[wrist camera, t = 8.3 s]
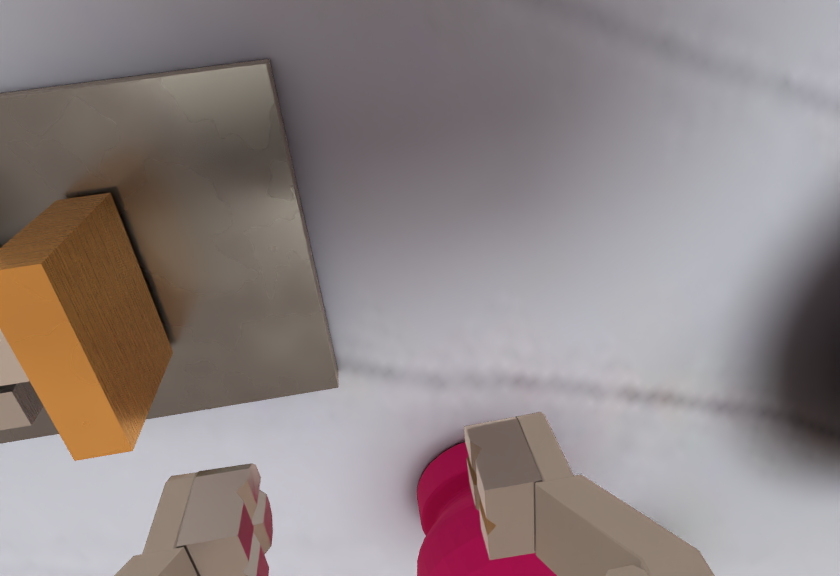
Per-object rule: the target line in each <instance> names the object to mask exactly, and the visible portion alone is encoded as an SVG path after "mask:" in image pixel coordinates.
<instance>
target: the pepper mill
mask: <svg viewBox="0 0 840 576" xmlns="http://www.w3.org/2000/svg"><path fill="white" fill-rule="evenodd" d="M468 456H469V454H468V451H467V447H466V443H465V442H463V443H460V444H457V445H455V446H454V447H452V448H450V449H448V450H446V451H445V452H443V453H442V454H440V455H439V456H438V457H437V458H436V459H435V460H434V461H432V462H431V463H430V464H429V465H428V467H427V468H426V470H425V471H424V473H423V475H422V476H421V478H420V481H419V484H418V489H417V500H418V506H419V512H420V519H421V525H422V528H423V531H424V533H425V535H426V537H425V539H424V541H423V544H422V546H421V549H420V552H419V556H418V560H417V576H557V575H556V574H555V573H554V572H553V571H552V570H551V569H550V568H549V567H547V566H546V565H545V564H544V563H543V562H542V561H541V560H540V559H539V558H538V557H537V556H536V553H531V554H525V555H519V556H513V557H506V558H500V559H494V560H489V556H488V552H487V549H486V545H485V541H484V538H483V534H482V530H481V523H480V512H479V510H477V509H476V508H475V504H474V500H473V495H472V491H471V487H470V481H469V474H468V466H467V457H468Z"/></svg>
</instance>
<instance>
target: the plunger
mask: <svg viewBox="0 0 840 576" xmlns="http://www.w3.org/2000/svg"><path fill="white" fill-rule="evenodd" d="M172 354H173V350H172V348H171V345H170V343H169V340H168V338H167V335H166V333H165V330H164V328H163V325H162V322H161V320H160V317H159V315H158V312H157V310H156V307H155V305H154V302H153V300H152V297H151V294H150V292H149V289H148V287H147V284H146V282H145V279H144V277H143V274H142V272H141V269H140V266H139V264H138V261H137V259H136V256H135V254H134V251H133V249H132V246H131V244H130V241H129V238H128V236H127V233H126V231H125V228H124V226H123V223H122V221H121V218H120V216H119V213H118V210H117V208H116V205H115V203H114V200H113V198H112V195H111V193H104V194H97V195H90V196H83V197H76V198H69V199H61V200H56V201H55V202H54V203H52V204H51V205H50V206H49V207H48V208H47V209H45V210H44V211H43V212H42V213H41V214H40V215H38V216H37V217H36V218H35V219H34V220H33V221H31V222H30V223H29V224H28V225H27V226H26V227H24V228H23V229H22V230H21V231H20V232H18V233H17V234H16V235H15V236H14V237H13V238H11V239H10V240H9V241H8V242H7V243H6V244H4V245H3V246H2V247H1V248H0V386H4V385H10V384H16V383H22V382H29V381H30V383H31V384H32V386H33V388H34V390H35V391H36V393H37V395H38V397H39V399H40V400H41V402H42V404H43V406H44V407H45V409H46V411H47V413H48V414H49V416H50V418H51V420H52V422H53V423H54V425H55V427H56V429H57V430H58V432H59V434H60V436H61V438H62V439H63V441H64V443H65V445H66V446H67V448H68V450H69V452H70V453H71V455H72V457H73V459H74V461H76V460H82V459H88V458H94V457H100V456H106V455H112V454H117V453H123V452H129V451H133V449H134V446H135V444H136V441H137V439H138V436H139V434H140V432H141V429H142V427H143V424H144V422H145V419H146V417H147V415H148V412H149V410H150V407H151V405H152V402H153V400H154V398H155V395H156V393H157V390H158V388H159V385H160V383H161V381H162V378H163V376H164V373H165V371H166V368H167V366H168V364H169V361H170V359H171V356H172Z"/></svg>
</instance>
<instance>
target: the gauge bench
mask: <svg viewBox="0 0 840 576" xmlns="http://www.w3.org/2000/svg"><path fill="white" fill-rule="evenodd" d="M104 193H111V195H112V198H113V200H114V203H115V205H116V208H117V210H118V213H119V216H120V218H121V221H122V223H123V226H124V228H125V231H126V233H127V236H128V238H129V241H130V244H131V246H132V249H133V251H134V254H135V256H136V259H137V261H138V264H139V266H140V269H141V272H142V274H143V277H144V279H145V282H146V284H147V287H148V289H149V292H150V294H151V297H152V300H153V302H154V305H155V307H156V310H157V312H158V315H159V317H160V320H161V322H162V325H163V328H164V330H165V333H166V335H167V338H168V340H169V343H170V345H171V348H172V350H173V354H172V356H171V359H170V361H169V364H168V366H167V368H166V371H165V373H164V376H163V378H162V381H161V383H160V385H159V388H158V390H157V393H156V395H155V398H154V400H153V402H152V405H151V407H150V410H149V412H148V415H147V417H146V419H151V418H157V417H163V416H169V415H175V414H181V413H187V412H193V411H199V410H205V409H211V408H217V407H223V406H229V405H235V404H241V403H248V402H254V401H260V400H266V399H272V398H278V397H284V396H290V395H296V394H302V393H308V392H314V391H320V390H326V389H332V388H338V369H337V364H336V360H335V355H334V351H333V346H332V341H331V337H330V332H329V328H328V323H327V319H326V314H325V310H324V305H323V301H322V296H321V292H320V287H319V283H318V278H317V273H316V269H315V264H314V260H313V255H312V251H311V246H310V242H309V237H308V233H307V228H306V224H305V219H304V214H303V210H302V205H301V201H300V196H299V192H298V187H297V183H296V178H295V174H294V169H293V165H292V160H291V156H290V151H289V146H288V142H287V137H286V133H285V128H284V124H283V119H282V115H281V110H280V106H279V101H278V97H277V92H276V88H275V83H274V78H273V74H272V69H271V65H270V60H269V59H262V60H254V61H247V62H239V63H231V64H223V65H216V66H208V67H200V68H192V69H185V70H177V71H169V72H161V73H154V74H146V75H138V76H130V77H123V78H115V79H107V80H100V81H92V82H84V83H76V84H69V85H61V86H53V87H45V88H38V89H30V90H22V91H14V92H7V93H0V248H1V247H2V246H3V245H4V244H6V243H7V242H8V241H9V240H10V239H11V238H13V237H14V236H15V235H16V234H17V233H18V232H20V231H21V230H22V229H23V228H24V227H26V226H27V225H28V224H29V223H30V222H31V221H33V220H34V219H35V218H36V217H37V216H38V215H40V214H41V213H42V212H43V211H44V210H45V209H47V208H48V207H49V206H50V205H51V204H52V203H54V202H55V201H56V200H61V199H69V198H76V197H83V196H90V195H97V194H104ZM54 434H59V432H58V430H57V429H56V427H55V425H54V423H53V422H52V420H51V418H50V416H49V414H48V413H47V411H46V409H45V407H44V406H43V404H42V402H41V400H40V399H39V397H38V395H37V393H36V391H35V390H34V388H33V386H32V384H31V383H30V381H29V382H22V383H16V384H10V385H4V386H0V443H6V442H12V441H18V440H24V439H30V438H36V437H42V436H48V435H54Z"/></svg>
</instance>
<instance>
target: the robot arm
mask: <svg viewBox="0 0 840 576" xmlns="http://www.w3.org/2000/svg"><path fill="white" fill-rule="evenodd" d="M464 435H465V443H466V447H467V451H468V454H469V456H468V457H467V466H468V474H469V481H470V487H471V491H472V495H473V500H474V504H475V508H476V509H477V510H479V512H480V523H481V530H482V534H483V538H484V541H485V545H486V549H487V552H488V556H489V560H494V559H500V558H506V557H513V556H519V555H525V554H531V553H536V556H537V557H538V558H539V559H540V560H541V561H542V562H543V563H544V564H545V565H546V566H547V567H549V568H550V569H551V570H552V571H553V572H554V573H555V574H556V575H557V576H715V575H714V574H713V572H712V571H711V569H710V567H709V566H708V564H707V563H706V561H705V559H704V558H703V556H702V555H701V553H700V551H699V550H697V549H696V548H694V547H693V546H691V545H690V544H688V543H686V542H685V541H683V540H682V539H680V538H679V537H677V536H676V535H674V534H673V533H671V532H669V531H668V530H666V529H665V528H663V527H662V526H660V525H659V524H657V523H656V522H654V521H652V520H651V519H649V518H648V517H646V516H645V515H643V514H642V513H640V512H639V511H637V510H635V509H634V508H632V507H631V506H629V505H628V504H626V503H625V502H623V501H621V500H620V499H618V498H617V497H615V496H614V495H612V494H611V493H609V492H608V491H606V490H604V489H603V488H601V487H600V486H598V485H597V484H595V483H594V482H592V481H591V480H589V479H587V478H586V477H584V476H583V475H576V476H574V475H573V473H572V471H571V469H570V467H569V465H568V463H567V461H566V459H565V457H564V455H563V452H562V450H561V448H560V446H559V444H558V442H557V440H556V438H555V436H554V434H553V431H552V429H551V427H550V425H549V423H548V421H547V419H546V417H545V415H544V414H543V413H542V412H538V413H532V414H527V415H522V416H516V417H512V418H506V419H501V420H495V421H490V422H484V423H479V424H473V425H468V426H464ZM260 479H261V477H260V474H259V472H258V469H257V467H256V465H255V464H245V465H238V466H232V467H225V468H218V469H212V470H205V471H199V472H196V473H189V474H182V475H175V476H171V477H170V478H169V479H168V481H167V482H166V483H165V486H164V489H163V492H162V495H161V498H160V501H159V504H158V507H157V510H156V514H155V517H154V520H153V523H152V526H151V529H150V532H149V535H148V538H147V541H146V544H145V547H144V550H143V553H142V554H141V555H136V556H133V557H132V558H131V559H130V560H129V561H128V562H127V563H126V564H125V565H124V566H123V567H122V568H121V569H120V570H119V571H118V572H117V573H116V574H115V575H114V576H268V573H269V566H268V564H267V561H266V558H265V553H266V552H267V551H268V549H269V548H270V547H271V544H272V533H273V528H272V513H271V508H270V503H269V500H268V497H267V494H266V493H264V492H262V491H261V490H259V487H260Z"/></svg>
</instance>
